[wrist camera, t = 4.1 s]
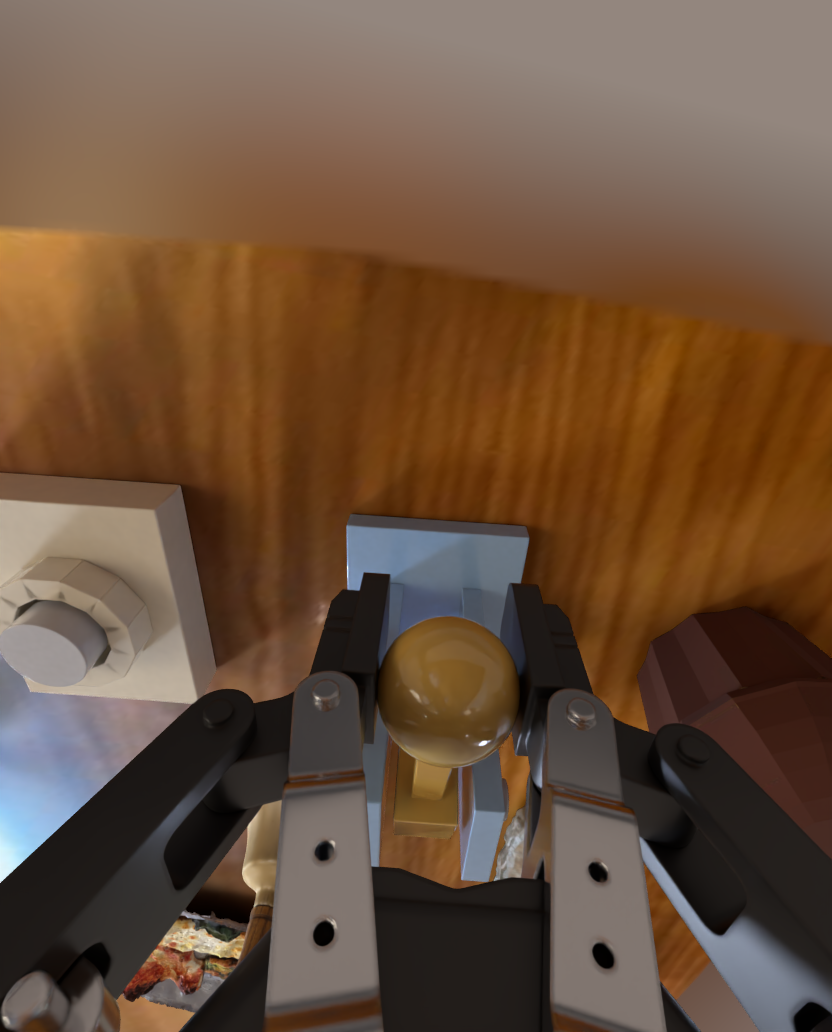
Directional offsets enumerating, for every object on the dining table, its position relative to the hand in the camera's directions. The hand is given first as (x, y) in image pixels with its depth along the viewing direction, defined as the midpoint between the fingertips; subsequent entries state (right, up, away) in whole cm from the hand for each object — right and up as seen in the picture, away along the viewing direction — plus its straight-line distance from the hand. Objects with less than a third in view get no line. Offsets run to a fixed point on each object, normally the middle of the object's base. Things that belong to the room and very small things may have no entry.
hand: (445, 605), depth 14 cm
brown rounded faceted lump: (+17, -6, +16) cm, 24 cm away
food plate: (-21, -41, +38) cm, 60 cm away
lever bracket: (0, -2, +15) cm, 15 cm away
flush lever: (0, -3, +2) cm, 4 cm away
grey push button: (-18, -3, +11) cm, 22 cm away
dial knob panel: (-18, -1, +15) cm, 23 cm away
